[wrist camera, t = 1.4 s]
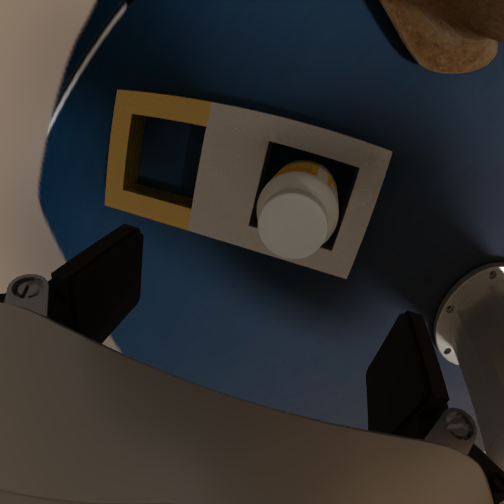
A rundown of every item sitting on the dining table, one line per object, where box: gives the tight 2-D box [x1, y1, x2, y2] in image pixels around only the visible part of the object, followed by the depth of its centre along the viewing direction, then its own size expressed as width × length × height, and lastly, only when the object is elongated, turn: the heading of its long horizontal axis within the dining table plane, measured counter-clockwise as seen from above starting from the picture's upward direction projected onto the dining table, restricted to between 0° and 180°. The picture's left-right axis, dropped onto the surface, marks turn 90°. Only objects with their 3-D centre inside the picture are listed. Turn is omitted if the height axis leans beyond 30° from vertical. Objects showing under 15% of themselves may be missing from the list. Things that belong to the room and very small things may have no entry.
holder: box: [105, 90, 392, 279], centre depth 26 cm, size 23×11×3 cm, turn 77°
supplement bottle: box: [257, 160, 339, 259], centre depth 22 cm, size 5×5×10 cm
